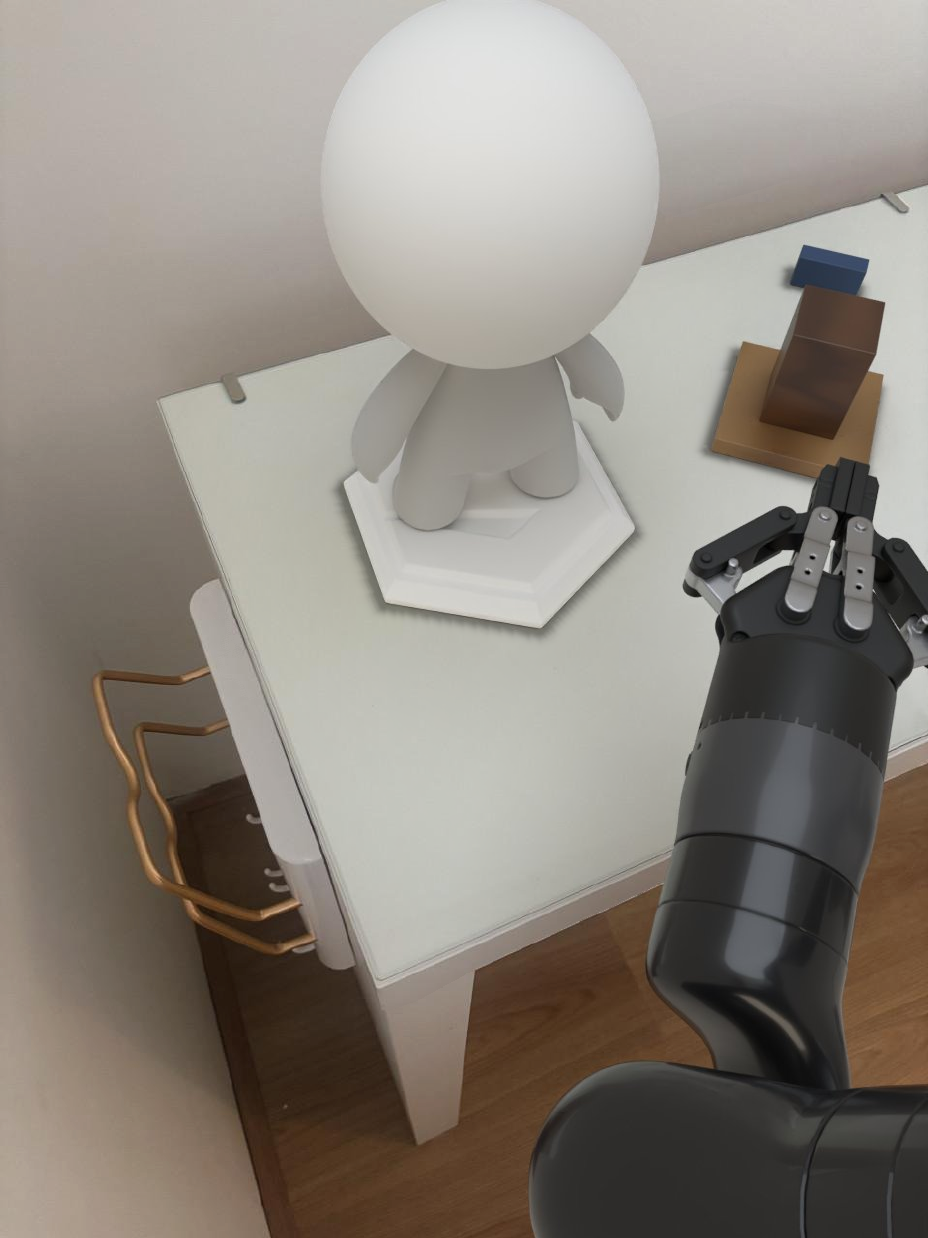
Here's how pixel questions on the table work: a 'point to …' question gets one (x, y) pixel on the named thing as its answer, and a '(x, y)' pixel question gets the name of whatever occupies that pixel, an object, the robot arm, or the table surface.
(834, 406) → the block
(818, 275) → the blue rectangular block
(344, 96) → the big headed doll
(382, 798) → the table surface
